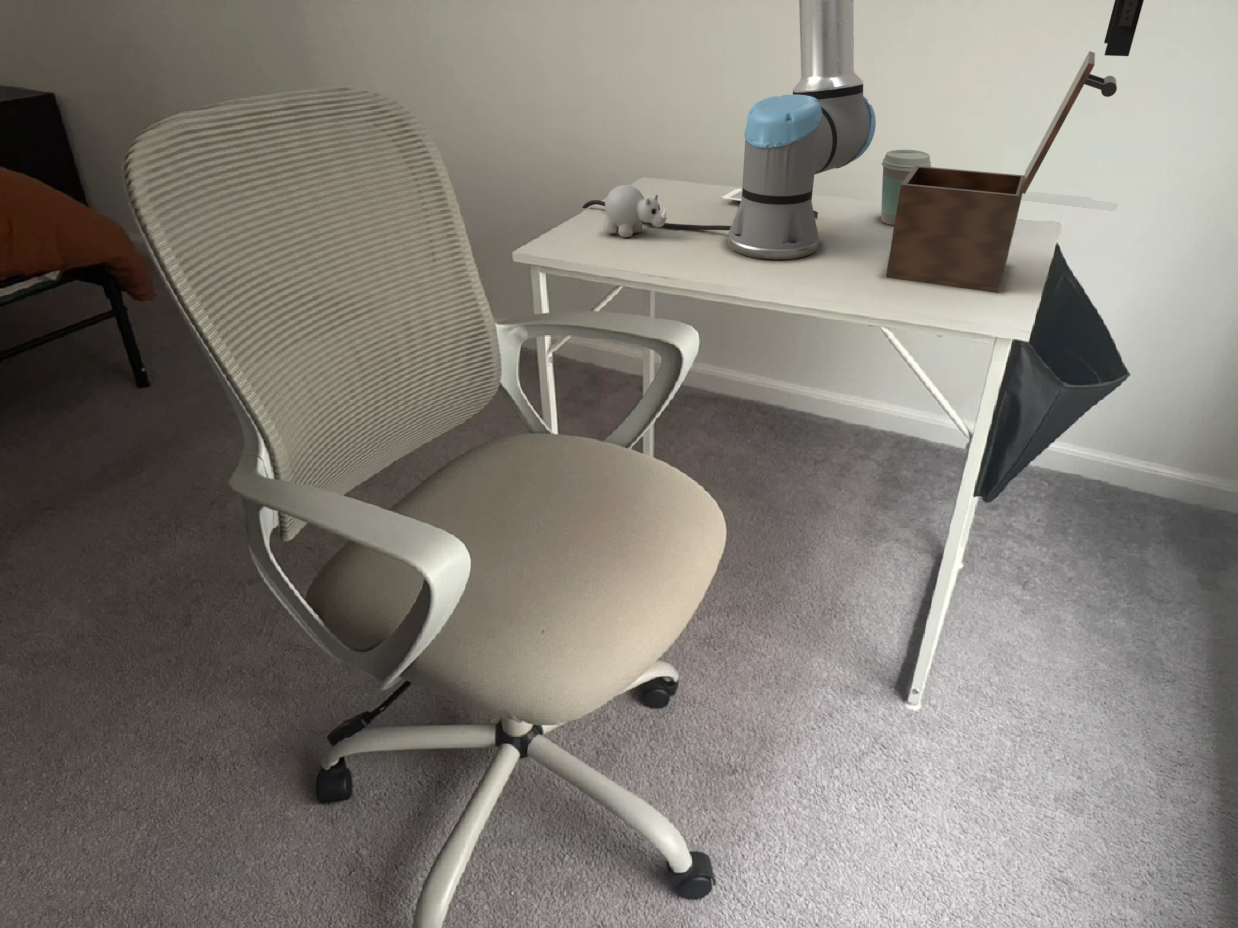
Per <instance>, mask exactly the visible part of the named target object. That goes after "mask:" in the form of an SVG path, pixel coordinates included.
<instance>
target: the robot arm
mask: <svg viewBox="0 0 1238 928" xmlns="http://www.w3.org/2000/svg"><path fill="white" fill-rule="evenodd" d="M1144 1H1145V0H1114V2H1113V7H1112V10H1111V14H1110V18H1109V22H1108V26H1107V30H1106V33H1105V38H1104V42H1103V44H1106V47H1105V51H1104V55H1103V56H1107V57H1108V56H1110V57H1129V56H1130V52H1131V49H1132V45H1133V42H1134V37H1135V34H1136V32H1137V31H1136V30H1137V27H1138V23H1139V20H1140V17H1141V16H1140V15H1141V12H1142V8H1143V4H1144ZM854 6H855V5H854V0H798V9H799V10H798V12H799V14H798V15H799V43H800V44H799V47H800V50H799V51H800V79H799V81H798V82H797V83H796V85H795V86H794V87H793V88H792V94H782V95H781V96H778V95H776V96H775V95H774V96H769V97H767V98H763V99H761V100H759V101H757V102H755V103H754V104H753V105H752V106H751V107H750V109H749V110H748V113H747V117H746V124H745V125H746V126H745V128H744V155H743V167H742V168H743V170H742V188H741V189H742V199H741V201H739V202H740V203H739V205H738V207H737V210H736V213H735V215H734V218H733V221H732V224H731V225H722V224H721V225H719V224H718V225H716V224H714V225H713V224H711V225H709V224H707V225H706V224H705V225H703V224H702V225H701V224H686V223H685V224H684V223H683V224H682V223H670V222H665V224H664V225H663V226H662V227H661V228H667V229H678V230H697V231H728V239H727V245H728V247H729V249H731V250H732V251H733V252H736V253H738V254H740V255H743V256H747V257H749V258H750V257H751V258H756V259H762V260H763V259H765V260H793V259H800V258H804V257H807V256H810V255H812V254H813V253H815V252H816V251H817V250H818V247H819V238H820V237H819V232H818V226H817V222H816V220H818V217H819V212H818V211H816V210H814V208H813V191H814V182H815V175H818V174H821V173H824V172H827V171H831V170H833V169H840V168H843V167H845V166H848V165H849V164H850V163H852V162H854V161H856V160H858V159H859V158H860V157H861V156H863V154H865V152H867V150H868V149H869V147H870V145H871V144H872V142H873V139H874V136H875V132H876V126H877V125H876V124H877V123H876V122H877V120H876V113H875V111H874V108H873V105H872V104H870V103H869V101H868V98H866V97H865V96H864V80H863V79H862V78H861V77H860V76H858V74H856V72H855V60H854V59H855V58H854V57H855V50H854V49H855V45H854V43H855V41H854V39H855V38H854V37H855V35H854V34H855V33H854V30H855V29H854V25H855V24H854V20H855V19H854V16H855V15H854ZM593 205H598V206H602V207H605V201H603V200H599V199H591V200H589V201H587V202H585V203H584V204H583V205H582V207H581V208H582V209H587V208H589V207H591V206H593ZM641 222H642V224H644V225H648V226H653V225H652V224H651V223H646V222H643V221H641ZM653 227H654V226H653Z"/></svg>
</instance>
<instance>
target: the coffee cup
mask: <svg viewBox="0 0 1238 928" xmlns="http://www.w3.org/2000/svg"><path fill="white" fill-rule="evenodd" d="M881 166H882V181H881V183H882V184H881V209H880V221H881V222H882V223H884V224H886V225H891V226H894V224H895V217H896V211H897V205H898V199H899V193H900V187H901V184H902V183H903V181H904V180H905V178H906V177H907V176H908V174H909V173H910V172H911V170H912V169H913V168H914V166H924V167H932V161H931V154H929V153H928V152H926V151H921V150H916V149H892V150H888V151H887V152H886V153H885V155H884V158H882V162H881Z"/></svg>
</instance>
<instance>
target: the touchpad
mask: <svg viewBox="0 0 1238 928" xmlns="http://www.w3.org/2000/svg"><path fill="white" fill-rule="evenodd" d="M720 199H725V200H732V201H738V202H741V199H742V188H736V189H733V190H732V191H730V192H728V193H727V194H725V195H722V196H721V197H720Z"/></svg>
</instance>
